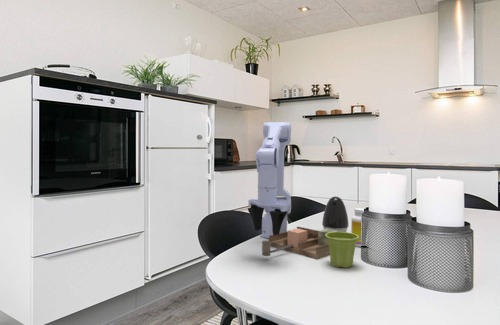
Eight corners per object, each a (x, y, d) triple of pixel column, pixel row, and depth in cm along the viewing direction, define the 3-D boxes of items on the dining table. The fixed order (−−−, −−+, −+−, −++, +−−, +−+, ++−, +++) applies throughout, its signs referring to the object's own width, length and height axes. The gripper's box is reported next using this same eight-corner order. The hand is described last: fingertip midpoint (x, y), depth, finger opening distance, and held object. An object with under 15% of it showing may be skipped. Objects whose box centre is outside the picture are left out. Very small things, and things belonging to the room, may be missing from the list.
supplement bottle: (371, 248, 120) (372, 211, 119) (351, 247, 121) (352, 210, 121) (369, 243, 126) (369, 208, 126) (350, 242, 127) (350, 207, 127)
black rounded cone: (319, 236, 136) (320, 197, 136) (324, 230, 146) (325, 194, 145) (346, 238, 132) (347, 199, 132) (349, 232, 142) (350, 195, 142)
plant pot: (340, 272, 96) (340, 240, 95) (318, 262, 104) (318, 233, 104) (365, 267, 100) (365, 237, 100) (342, 258, 108) (342, 230, 108)
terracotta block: (258, 254, 107) (258, 237, 107) (296, 243, 120) (297, 228, 119) (268, 257, 103) (268, 240, 103) (307, 245, 116) (307, 230, 116)
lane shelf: (268, 245, 122) (269, 227, 121) (297, 238, 133) (297, 221, 132) (317, 259, 107) (317, 238, 107) (345, 249, 118) (345, 230, 118)
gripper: (241, 186, 108) (241, 229, 109) (276, 190, 98) (275, 238, 98) (257, 185, 113) (257, 226, 113) (292, 188, 102) (291, 234, 103)
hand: (266, 232), depth 106 cm, fingers open, 7 cm apart
